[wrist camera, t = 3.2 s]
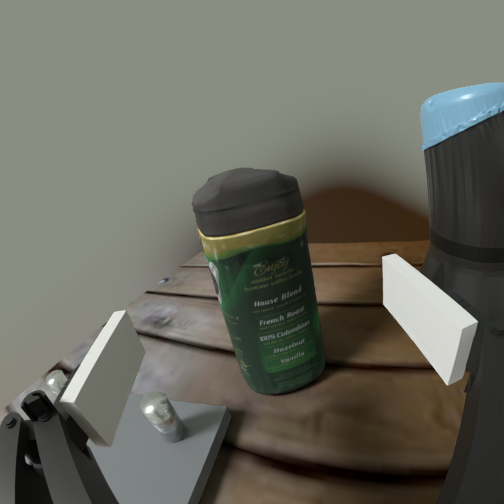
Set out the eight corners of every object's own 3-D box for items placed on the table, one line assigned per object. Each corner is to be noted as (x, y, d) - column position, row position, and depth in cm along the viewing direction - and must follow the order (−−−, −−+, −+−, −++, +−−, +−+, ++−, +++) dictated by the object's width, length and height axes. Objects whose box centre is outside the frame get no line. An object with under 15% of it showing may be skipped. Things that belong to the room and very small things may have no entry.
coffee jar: (338, 377, 24) (312, 158, 18) (254, 409, 23) (184, 188, 16) (300, 325, 33) (268, 157, 27) (233, 347, 32) (183, 179, 25)
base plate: (78, 387, 28) (55, 352, 26) (231, 416, 22) (212, 373, 20) (-8, 499, 10) (-46, 466, 8) (147, 617, 4) (93, 611, 3)
